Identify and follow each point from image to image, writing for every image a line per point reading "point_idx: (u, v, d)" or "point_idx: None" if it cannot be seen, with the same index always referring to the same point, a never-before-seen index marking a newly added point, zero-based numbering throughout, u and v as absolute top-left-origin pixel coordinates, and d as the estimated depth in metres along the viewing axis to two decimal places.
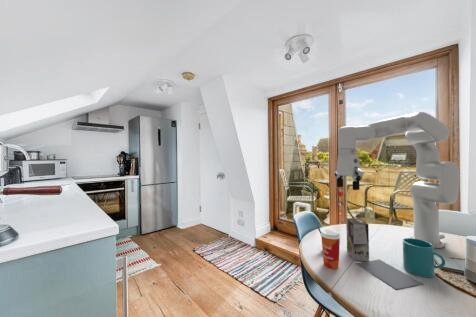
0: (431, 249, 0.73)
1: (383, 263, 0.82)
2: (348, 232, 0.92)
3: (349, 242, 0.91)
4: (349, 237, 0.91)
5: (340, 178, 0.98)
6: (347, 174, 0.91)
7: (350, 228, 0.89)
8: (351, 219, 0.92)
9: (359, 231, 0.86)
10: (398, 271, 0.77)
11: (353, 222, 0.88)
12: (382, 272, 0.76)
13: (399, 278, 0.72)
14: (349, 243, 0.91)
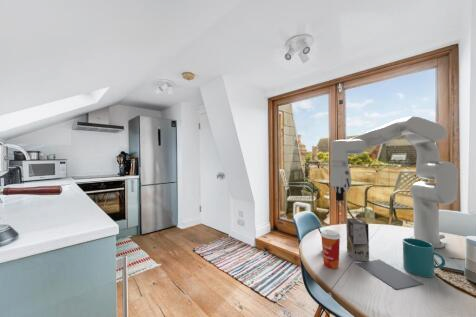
0: (431, 249, 0.73)
1: (383, 263, 0.82)
2: (348, 232, 0.92)
3: (349, 242, 0.91)
4: (349, 237, 0.91)
5: None
6: (339, 185, 0.97)
7: (350, 228, 0.89)
8: (351, 219, 0.92)
9: (359, 231, 0.86)
10: (398, 271, 0.77)
11: (353, 222, 0.88)
12: (382, 272, 0.76)
13: (399, 278, 0.72)
14: (349, 243, 0.91)
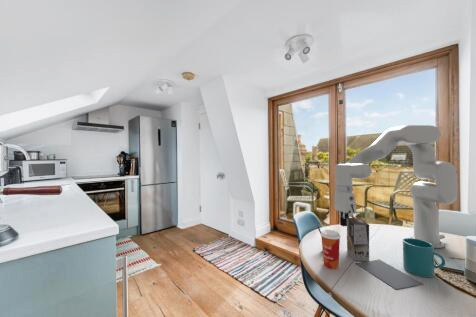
0: (431, 249, 0.73)
1: (383, 263, 0.82)
2: (348, 232, 0.91)
3: (349, 242, 0.91)
4: (349, 237, 0.90)
5: None
6: (343, 210, 0.95)
7: (351, 229, 0.88)
8: (352, 219, 0.91)
9: (360, 231, 0.85)
10: (398, 271, 0.77)
11: (353, 223, 0.87)
12: (382, 272, 0.76)
13: (399, 278, 0.72)
14: (349, 243, 0.91)
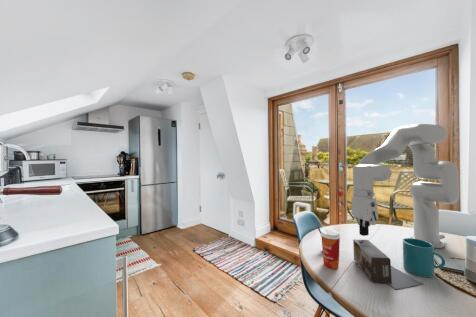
0: (431, 249, 0.73)
1: None
2: (363, 258, 0.76)
3: (358, 253, 0.81)
4: (361, 258, 0.78)
5: None
6: (363, 218, 0.83)
7: (367, 269, 0.74)
8: (376, 266, 0.70)
9: None
10: (398, 271, 0.77)
11: (374, 278, 0.70)
12: None
13: (399, 278, 0.72)
14: (358, 254, 0.81)
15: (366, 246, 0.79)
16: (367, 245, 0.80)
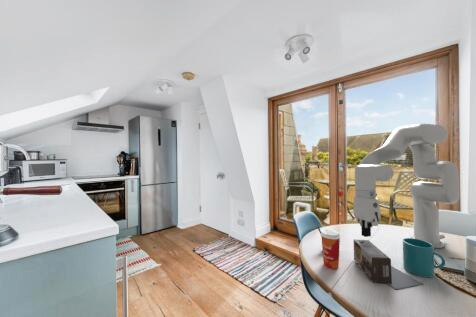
0: (431, 249, 0.73)
1: None
2: (364, 258, 0.76)
3: (358, 253, 0.81)
4: (361, 258, 0.78)
5: None
6: (366, 219, 0.82)
7: (367, 269, 0.74)
8: (376, 265, 0.70)
9: None
10: (398, 271, 0.77)
11: (374, 278, 0.70)
12: None
13: (399, 278, 0.72)
14: (358, 254, 0.81)
15: (367, 246, 0.79)
16: (367, 245, 0.80)
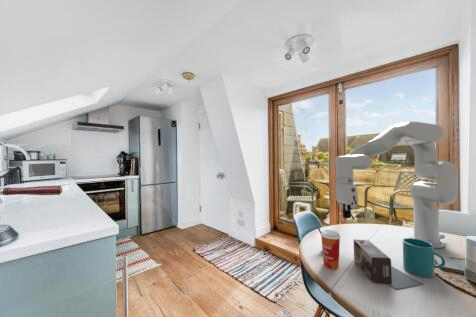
0: (431, 249, 0.73)
1: None
2: (364, 258, 0.76)
3: (358, 253, 0.81)
4: (361, 258, 0.78)
5: None
6: (345, 202, 0.94)
7: (367, 269, 0.74)
8: (376, 265, 0.70)
9: None
10: (398, 271, 0.77)
11: (374, 278, 0.70)
12: None
13: (399, 278, 0.72)
14: (358, 254, 0.81)
15: (367, 246, 0.79)
16: (367, 245, 0.80)
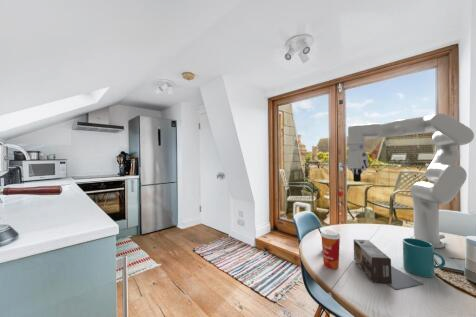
0: (431, 249, 0.73)
1: None
2: (364, 258, 0.76)
3: (358, 253, 0.81)
4: (361, 258, 0.78)
5: None
6: (356, 166, 1.04)
7: (367, 269, 0.74)
8: (376, 265, 0.70)
9: None
10: (398, 271, 0.77)
11: (374, 278, 0.70)
12: None
13: (399, 278, 0.72)
14: (358, 254, 0.81)
15: (367, 246, 0.79)
16: (367, 245, 0.80)
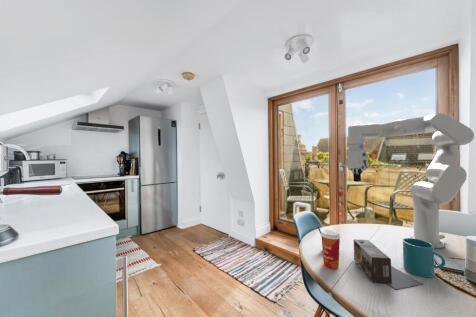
0: (431, 249, 0.73)
1: None
2: (364, 258, 0.76)
3: (358, 253, 0.81)
4: (361, 258, 0.78)
5: None
6: (356, 166, 1.04)
7: (367, 269, 0.74)
8: (376, 265, 0.70)
9: None
10: (398, 271, 0.77)
11: (374, 278, 0.70)
12: None
13: (399, 278, 0.72)
14: (358, 254, 0.81)
15: (367, 246, 0.79)
16: (367, 245, 0.80)
